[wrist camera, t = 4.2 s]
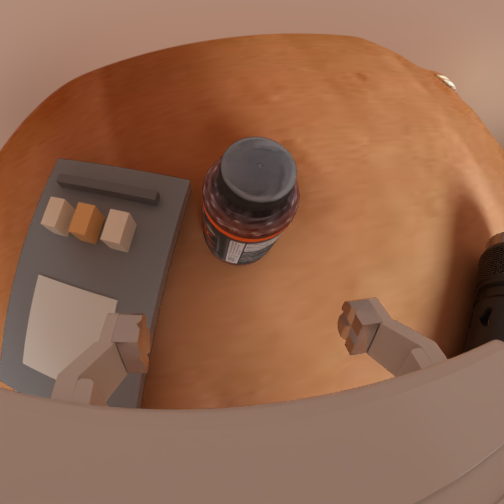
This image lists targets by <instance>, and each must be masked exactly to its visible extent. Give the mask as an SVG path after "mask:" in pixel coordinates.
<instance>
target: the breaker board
mask: <svg viewBox="0 0 504 504" xmlns="http://www.w3.org/2000/svg"><path fill="white" fill-rule="evenodd" d="M190 193H191V184H190V180H187V179H182V178H177V177H172V176H167V175H161V174H156V173H150V172H145V171H139V170H133V169H128V168H122V167H115V166H109V165H103V164H96V163H89V162H82V161H75V160H68V159H60V158H58V160H57V162H56V164H55V166H54V168H53V170H52V173H51V175H50V177H49V179H48V181H47V184H46V186H45V188H44V191H43V193H42V195H41V198H40V200H39V203H38V205H37V208H36V210H35V213H34V216H33V218H32V221H31V224H30V227H29V230H28V233H27V236H26V239H25V242H24V245H23V248H22V252H21V255H20V259H19V262H18V266H17V269H16V273H15V277H14V281H13V286H12V290H11V295H10V299H9V304H8V310H7V315H6V321H5V328H4V335H3V343H2V352H1V363H0V381H2V382H3V383H5V384H6V385H8V386H10V387H11V388H13V389H15V390H16V391H18V392H21V393H25V394H29V395H34V396H39V397H44V398H50V399H51V395H52V392H53V388H54V385H55V382H56V379H57V376H58V374H59V373H60V372H61V371H62V370H64V369H65V368H66V367H67V366H68V365H69V364H70V363H71V362H73V361H74V360H75V359H76V358H77V357H78V356H79V355H81V354H82V353H83V352H84V351H85V350H86V349H88V348H89V347H90V346H91V345H92V344H93V343H95V342H99V338H100V335H101V332H102V329H103V325H104V322H105V319H106V316H107V314H108V313H144V314H145V317H146V320H147V322H146V327H147V328H148V329H149V332H150V338H151V347H152V342H153V337H154V332H155V327H156V323H157V318H158V313H159V309H160V305H161V300H162V296H163V292H164V288H165V283H166V279H167V275H168V271H169V267H170V264H171V260H172V256H173V252H174V248H175V245H176V241H177V237H178V234H179V230H180V227H181V223H182V220H183V216H184V213H185V210H186V206H187V203H188V200H189V196H190ZM151 347H150V352H151ZM150 352H149V353H148V354H147V355H148V358H149V357H150ZM145 379H146V373H127V376H126V377H125V378H124V379H123V381H122V382H121V383H120V384H119V386H118V387H117V388H116V389H115V391H114V392H113V393H112V395H111V396H110V397H109V398H108V400H107V401H106V403H107V405H108V406H109V407H122V408H139V409H141V404H142V397H143V391H144V385H145Z"/></svg>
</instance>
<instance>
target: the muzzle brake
mask: <svg viewBox="0 0 504 504" xmlns="http://www.w3.org/2000/svg"><path fill="white" fill-rule="evenodd" d="M475 291H476V296H477V299H478V300H479V301H477V302H476V303H474V308H473V313H472V318H471V323H470V327H469V328H470V330H469V333H468V337H467V341H466V345H465V349H464V352H463V353H465V352H468V351H470V350H472V349H474V348H477V347H479V346H481V345H483V344H486V343H488V342H490V341H492V340H500V341H503V342H504V232H502V233H499V234H496V235H495V236H493V237H492V238H490V239H489V241H488V242H487V244H486V247H485V252H484V253H483V254H482V255H481V257H480V260H479V266H478V274H477V281H476V289H475Z"/></svg>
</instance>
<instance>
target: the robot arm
mask: <svg viewBox="0 0 504 504" xmlns="http://www.w3.org/2000/svg"><path fill="white" fill-rule="evenodd" d="M342 310H343V313H342V314H341V315H340V316H339V319H338V331H339V334H340V336H341V337H342V338H343V339H345V340H346V342H345V346H346V348H347V350H348V352H349V354H350V356H351V355H357V354H363V353H367V354H368V355H369V356H371V357H372V358H373V359H374V360H376V361H377V362H378V363H379V364H381V365H382V366H383V367H385V368H386V369H387V370H388V371H390V372H391V373H392V374H393V375H395V376H396V377H395V378H391V379H388V380H384V381H381V382H377V383H373V384H369V385H365V386H361V387H357V388H353V389H349V390H344V391H340V392H335V393H330V394H325V395H320V396H315V397H309V398H303V399H297V400H291V401H284V402H277V403H269V404H260V405H250V406H240V407H226V408H209V409H139V408H122V407H109V406H108V405H107V403H106V401H107V400H108V398H109V397H110V396H111V395H112V393H113V392H114V391H115V389H116V388H117V387H118V386H119V384H120V383H121V382H122V381H123V379H124V378H125V377H126V376H127V373H148V365H149V358H148V355H147V354H148V353H149V352H150V347H151V338H150V332H149V329H148V328H147V327H146V322H147V320H146V317H145V314H144V313H108V314H107V316H106V319H105V322H104V325H103V329H102V332H101V335H100V338H99V342H95V343H93V344H92V345H91V346H90V347H89V348H88V349H86V350H85V351H84V352H83V353H82V354H81V355H79V356H78V357H77V358H76V359H75V360H74V361H73V362H71V363H70V364H69V365H68V366H67V367H66V368H65V369H64V370H62V371H61V372H60V373H59V374H58V376H57V379H56V382H55V385H54V388H53V392H52V395H51V399H50V398H44V397H39V396H34V395H29V394H25V393H21V392H16V391H12V390H8V389H4V388H1V387H0V504H504V342H503V341H500V340H492V341H490V342H488V343H486V344H483V345H481V346H479V347H477V348H474V349H472V350H470V351H468V352H465V353H463V354H460V355H458V356H455V357H453V358H450V359H447V358H446V356H445V355H444V353H443V352H442V350H441V349H440V348H439V346H438V345H437V343H436V342H434V341H433V340H431V339H429V338H427V337H425V336H424V335H422V334H420V333H418V332H416V331H415V330H413V329H411V328H409V327H407V326H405V325H404V324H402V323H400V322H398V321H396V320H394V321H393V320H392V318H391V317H390V316H389V314H388V313H387V311H386V310H385V308H384V307H383V306H382V304H381V303H380V301H379V300H378V299H377V298H375V297H374V298H367V299H360V300H352V301H345V302H344V303H343V306H342Z"/></svg>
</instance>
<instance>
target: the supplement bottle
mask: <svg viewBox="0 0 504 504" xmlns="http://www.w3.org/2000/svg"><path fill="white" fill-rule="evenodd" d="M296 177H297V169H296V163H295V161H294V159H293V157H292V155H291V154H290V152H289V151H288V150H286V149H285V147H283V146H282V145H281V144H279V143H277V142H275V141H273V140H271V139H268V138H263V137H248V138H243V139H240V140H238V141H236V142H235V143H233V144H232V145H230V146H229V147H228V148H227V150H226V151H225V153H224V155H223V156H222V157H221V158H219V159H218V160H217V161H216V162H215V163H214V164H213V165H212V166H211V168H210V169H209V170H208V172H207V174H206V176H205V179H204V182H203V188H202V209H203V225H204V236H205V240H206V243H207V245H208V247H209V249H210V250H211V252H212V253H213V254H214V255H215V256H216V257H217V258H218V259H220V260H222V261H223V262H226V263H229V264H232V265H247V264H251V263H254V262H256V261H257V260H259V259H260V258H262V257H263V256H264V255H265V254H266V253H267V252H268V251H269V250H270V248H271V247H272V246H273V244H274V243H275V242H276V240H277V239H278V238H279V237H280V236H281V234H282V233H283V232H284V230H285V229H286V228H287V227H288V225H289V223H290V222H291V221H292V219H293V217H294V216H295V214H296V211H297V208H298V205H299V198H300V193H299V186H298V182H297V180H296Z"/></svg>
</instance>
